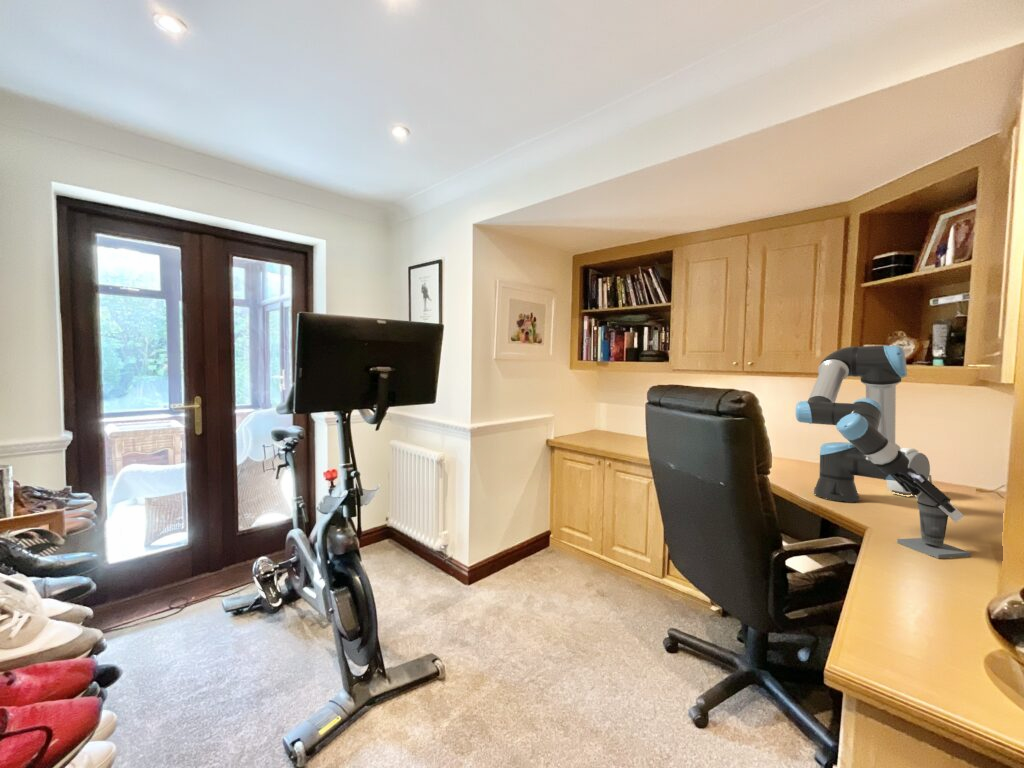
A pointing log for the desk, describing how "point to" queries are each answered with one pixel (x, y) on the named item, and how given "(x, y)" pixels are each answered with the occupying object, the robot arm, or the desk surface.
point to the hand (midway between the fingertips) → (947, 514)
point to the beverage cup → (931, 520)
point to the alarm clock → (916, 463)
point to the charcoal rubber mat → (933, 548)
